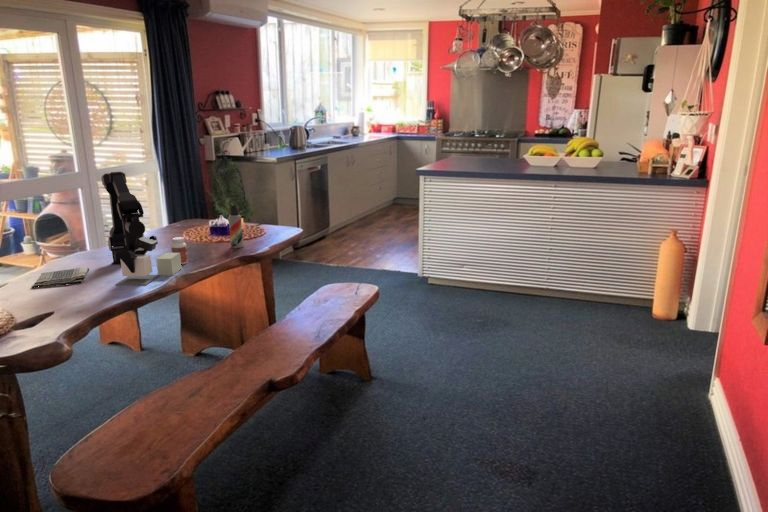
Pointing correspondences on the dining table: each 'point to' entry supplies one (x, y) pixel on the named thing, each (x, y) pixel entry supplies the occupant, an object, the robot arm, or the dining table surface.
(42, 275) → the dish towel
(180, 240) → the pill bottle
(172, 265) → the pale green block
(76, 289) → the dining table surface
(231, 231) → the lotion bottle
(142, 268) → the upright cream box
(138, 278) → the slate mat
